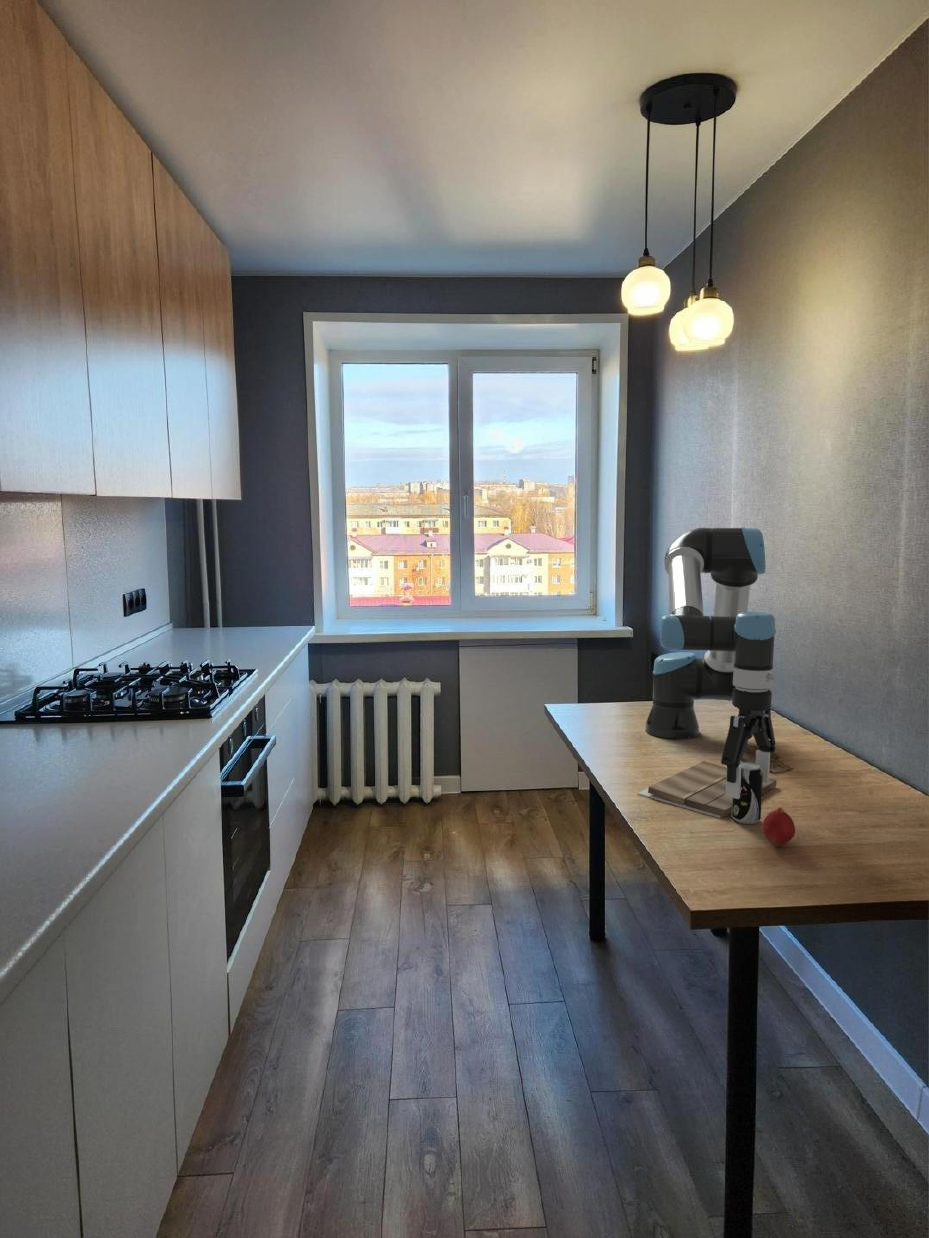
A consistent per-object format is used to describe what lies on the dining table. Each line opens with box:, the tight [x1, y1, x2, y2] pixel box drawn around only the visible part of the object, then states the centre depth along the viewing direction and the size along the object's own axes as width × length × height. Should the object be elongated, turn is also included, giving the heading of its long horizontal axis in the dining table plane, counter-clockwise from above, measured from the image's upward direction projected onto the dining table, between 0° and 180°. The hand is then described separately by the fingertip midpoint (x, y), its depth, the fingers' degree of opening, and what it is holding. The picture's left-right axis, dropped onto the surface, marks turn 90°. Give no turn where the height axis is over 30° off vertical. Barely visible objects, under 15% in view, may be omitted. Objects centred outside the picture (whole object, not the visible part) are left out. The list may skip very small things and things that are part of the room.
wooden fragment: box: [741, 743, 794, 775], centre depth 203 cm, size 26×11×1 cm, turn 177°
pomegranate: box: [761, 806, 796, 848], centre depth 148 cm, size 6×6×8 cm
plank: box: [647, 760, 727, 805], centre depth 181 cm, size 26×9×2 cm, turn 135°
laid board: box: [686, 777, 778, 818], centre depth 174 cm, size 26×9×2 cm, turn 135°
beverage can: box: [731, 761, 763, 825], centre depth 160 cm, size 6×6×12 cm
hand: (747, 789), depth 160 cm, fingers open, 13 cm apart
